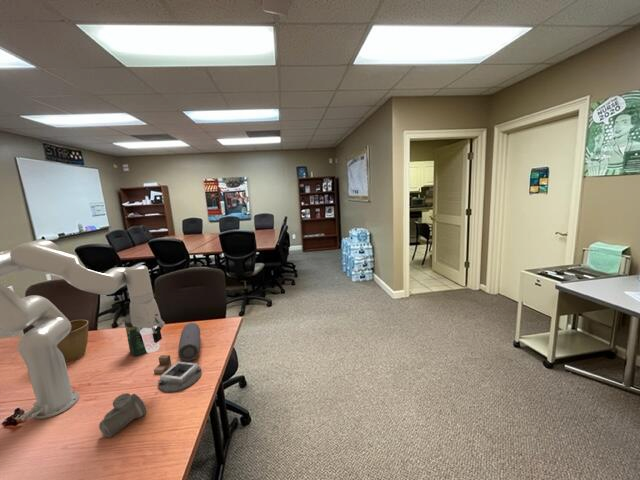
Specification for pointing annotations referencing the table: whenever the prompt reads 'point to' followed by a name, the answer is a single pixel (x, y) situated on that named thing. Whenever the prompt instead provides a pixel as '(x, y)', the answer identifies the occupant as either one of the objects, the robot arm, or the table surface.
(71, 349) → the plant pot
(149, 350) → the beverage cup
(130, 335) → the coffee jar
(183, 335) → the bluetooth speaker
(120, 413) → the pipe fitting
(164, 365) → the walnut bracket
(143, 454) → the table surface
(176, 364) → the gray windowed housing
